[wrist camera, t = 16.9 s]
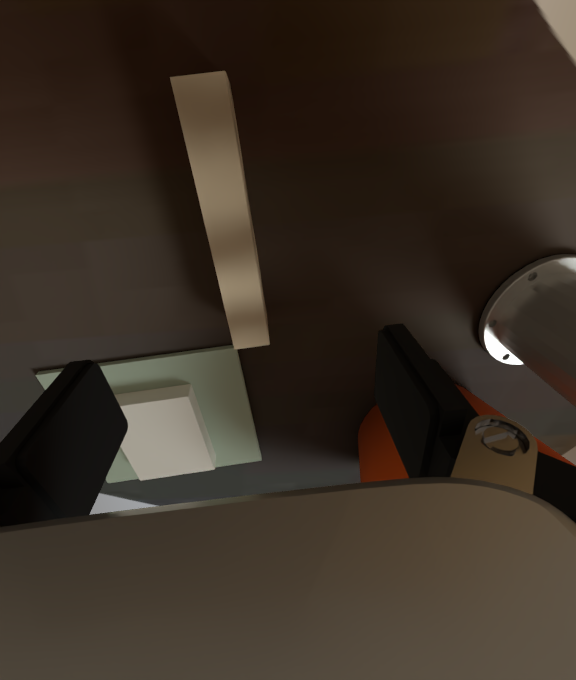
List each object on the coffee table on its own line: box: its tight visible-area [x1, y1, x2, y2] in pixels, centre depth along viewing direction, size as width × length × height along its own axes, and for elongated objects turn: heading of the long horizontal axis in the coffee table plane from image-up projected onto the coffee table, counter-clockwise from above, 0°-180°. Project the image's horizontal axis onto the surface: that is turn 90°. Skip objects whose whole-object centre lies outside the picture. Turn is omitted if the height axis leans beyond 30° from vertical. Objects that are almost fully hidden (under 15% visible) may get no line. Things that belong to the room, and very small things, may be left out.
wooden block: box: [170, 71, 270, 350], centre depth 25 cm, size 18×3×6 cm, turn 6°
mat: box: [35, 345, 262, 483], centre depth 37 cm, size 20×18×1 cm
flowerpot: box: [358, 384, 576, 483], centre depth 35 cm, size 25×25×20 cm
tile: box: [115, 384, 216, 481], centre depth 37 cm, size 9×2×12 cm
